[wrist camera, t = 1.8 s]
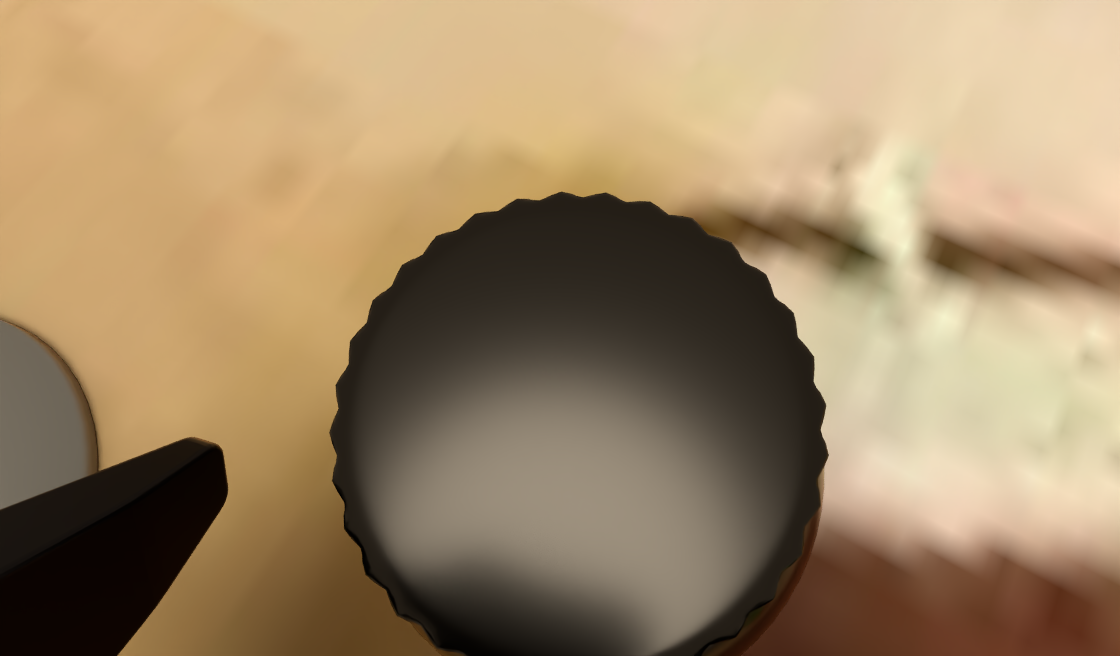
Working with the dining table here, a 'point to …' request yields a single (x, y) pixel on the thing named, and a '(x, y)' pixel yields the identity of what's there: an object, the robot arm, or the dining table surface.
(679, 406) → the supplement bottle
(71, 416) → the coaster
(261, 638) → the dining table surface
